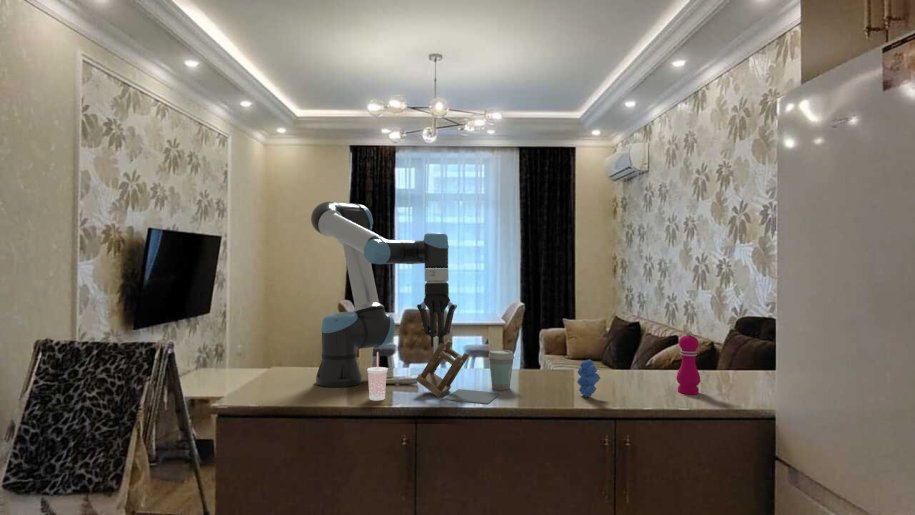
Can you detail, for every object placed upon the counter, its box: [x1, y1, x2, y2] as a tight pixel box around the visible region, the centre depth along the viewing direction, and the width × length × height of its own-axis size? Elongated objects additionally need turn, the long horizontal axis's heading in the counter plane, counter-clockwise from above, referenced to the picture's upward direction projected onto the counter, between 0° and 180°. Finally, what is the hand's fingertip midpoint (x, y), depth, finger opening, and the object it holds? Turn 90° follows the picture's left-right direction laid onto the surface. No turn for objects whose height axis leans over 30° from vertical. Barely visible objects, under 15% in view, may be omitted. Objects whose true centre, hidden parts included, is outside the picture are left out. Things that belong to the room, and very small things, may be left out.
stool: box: [415, 339, 470, 398], centre depth 184 cm, size 9×9×14 cm
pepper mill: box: [675, 330, 701, 395], centre depth 191 cm, size 7×7×20 cm
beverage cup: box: [366, 351, 389, 401], centre depth 177 cm, size 6×6×14 cm
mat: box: [442, 388, 501, 405], centre depth 181 cm, size 14×14×1 cm
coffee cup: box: [487, 349, 515, 391], centre depth 194 cm, size 9×8×12 cm
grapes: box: [576, 359, 601, 398], centre depth 182 cm, size 12×7×12 cm, turn 10°
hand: (437, 357), depth 185 cm, fingers closed
